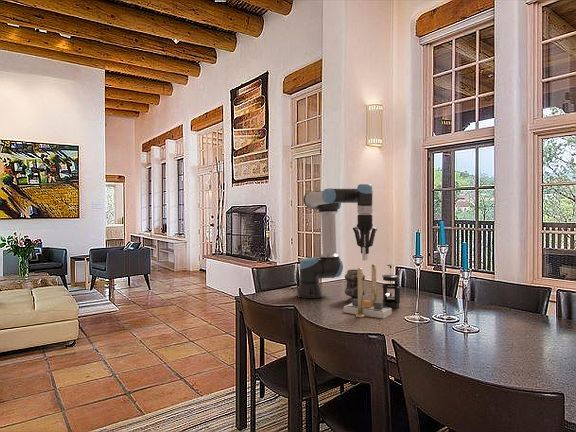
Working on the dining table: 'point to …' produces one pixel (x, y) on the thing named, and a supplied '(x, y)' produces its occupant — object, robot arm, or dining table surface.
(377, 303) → the paddle far
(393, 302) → the black lantern
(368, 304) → the paddle mid
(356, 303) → the paddle near base
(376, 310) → the panel
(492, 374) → the dining table surface
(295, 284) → the dining table surface
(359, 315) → the candlestick
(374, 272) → the candlestick
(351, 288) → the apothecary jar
